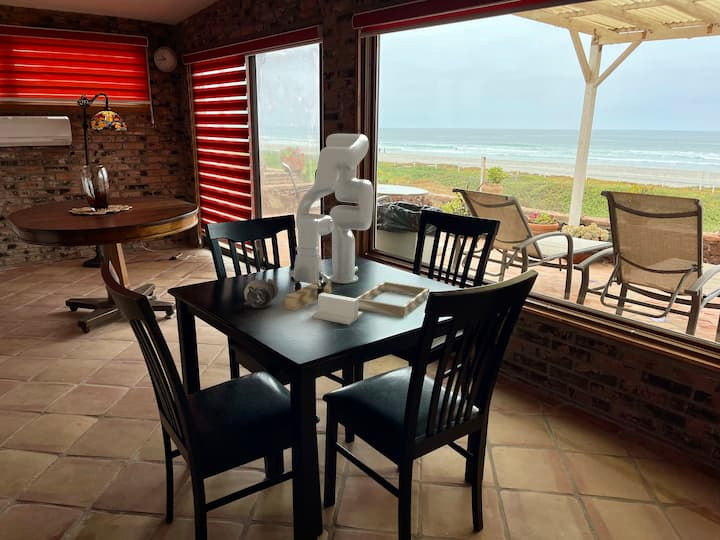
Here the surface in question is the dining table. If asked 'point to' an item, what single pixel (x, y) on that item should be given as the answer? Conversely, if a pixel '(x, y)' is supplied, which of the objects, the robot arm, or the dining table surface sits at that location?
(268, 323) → the dining table surface
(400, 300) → the dining table surface
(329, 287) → the oak batten
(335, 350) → the dining table surface
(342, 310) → the ridge block
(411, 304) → the birch crate frame
